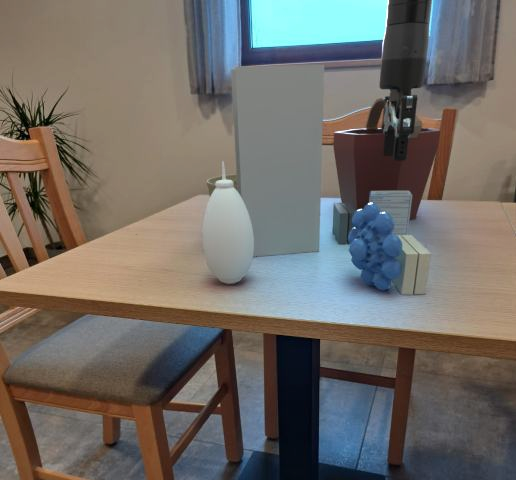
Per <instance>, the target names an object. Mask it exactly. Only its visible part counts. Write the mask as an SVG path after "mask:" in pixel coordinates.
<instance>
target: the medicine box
mask: <svg viewBox="0 0 516 480" xmlns="http://www.w3.org/2000/svg"><path fill="white" fill-rule="evenodd" d="M411 202H412V194H411V193H410V191H370V196H369V203H374V204H377V206H378V207H379V208H380V210H381V212H386V213H388V214H390V215H391V217H392V218H393V220H394V223H395V225H394V229H393V231H392V233H391V234H395V235H400V236H402V235H409V229H410V228H409V227H410V220H409V219H410V211H411Z"/></svg>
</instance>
